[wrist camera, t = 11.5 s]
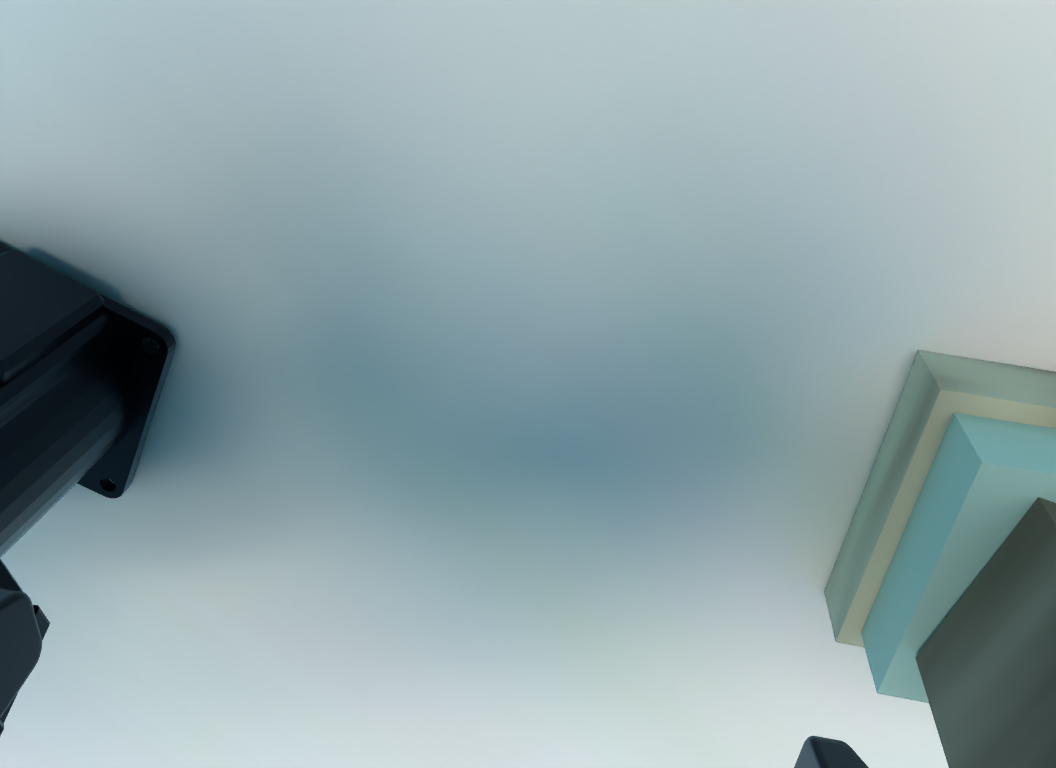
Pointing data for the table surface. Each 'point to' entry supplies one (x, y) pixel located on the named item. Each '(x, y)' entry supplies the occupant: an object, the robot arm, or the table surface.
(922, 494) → the green slab
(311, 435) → the table surface
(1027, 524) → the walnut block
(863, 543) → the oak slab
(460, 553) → the table surface
